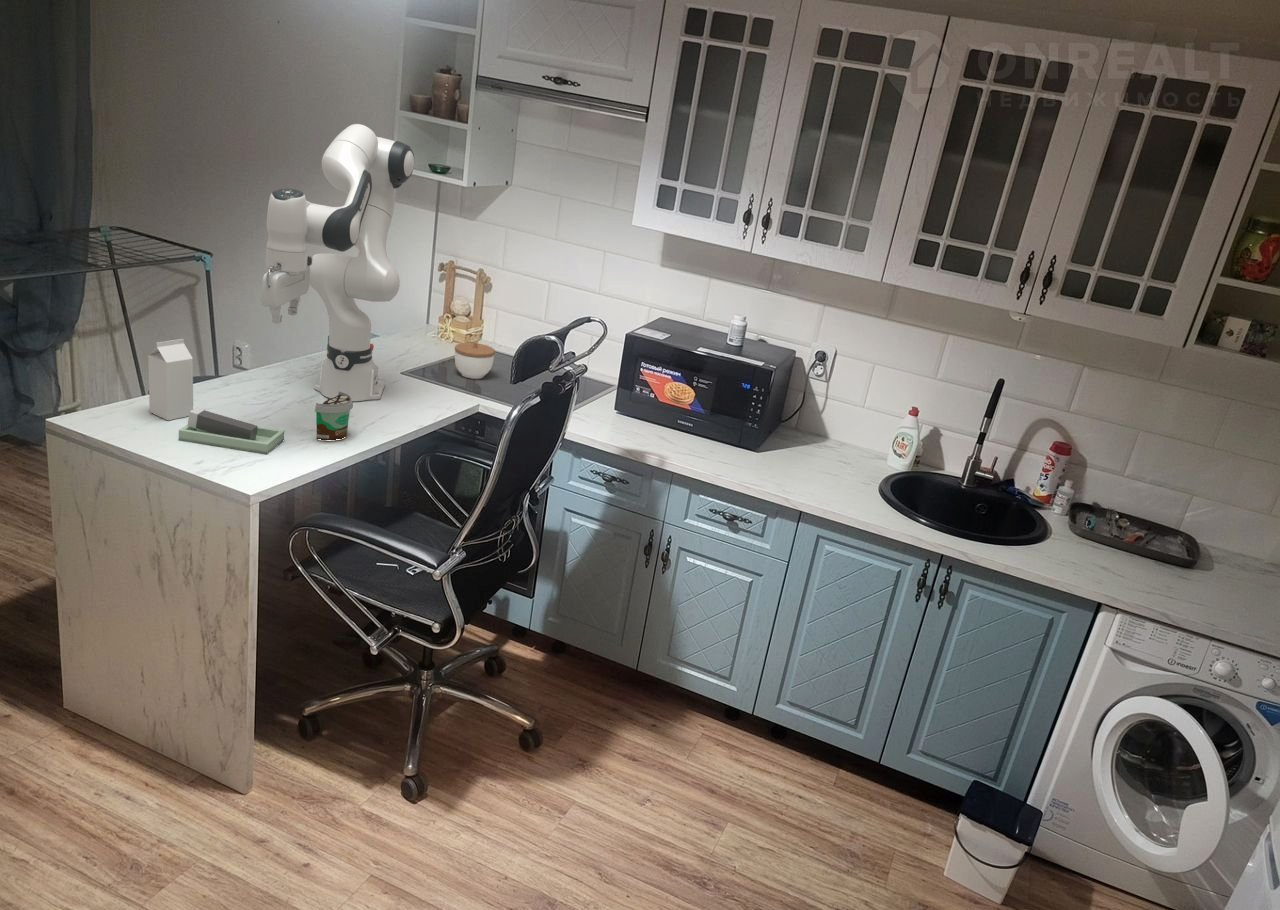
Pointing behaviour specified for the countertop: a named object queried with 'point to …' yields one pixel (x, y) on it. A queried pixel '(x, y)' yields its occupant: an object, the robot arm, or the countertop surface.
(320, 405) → the food container
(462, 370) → the lidded bowl
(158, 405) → the milk carton
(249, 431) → the dark grey bar
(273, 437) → the tray
